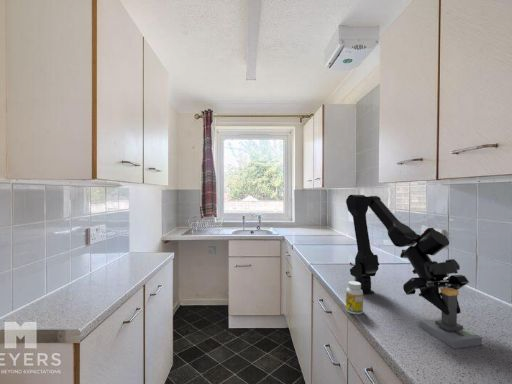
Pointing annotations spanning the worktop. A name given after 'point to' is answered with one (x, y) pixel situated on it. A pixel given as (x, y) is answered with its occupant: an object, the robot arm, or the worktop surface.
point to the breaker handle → (451, 302)
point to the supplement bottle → (354, 298)
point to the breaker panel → (451, 334)
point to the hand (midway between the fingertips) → (453, 313)
